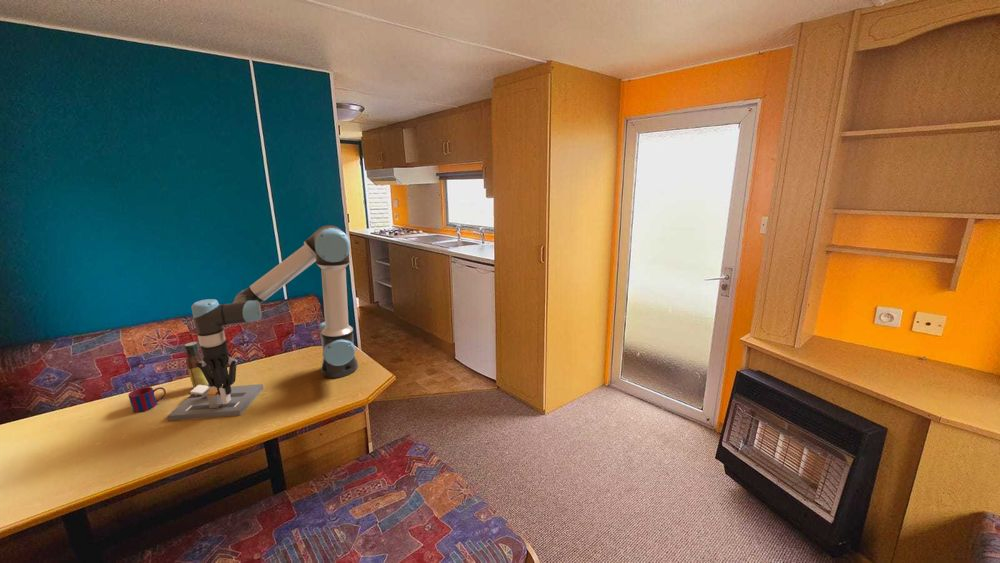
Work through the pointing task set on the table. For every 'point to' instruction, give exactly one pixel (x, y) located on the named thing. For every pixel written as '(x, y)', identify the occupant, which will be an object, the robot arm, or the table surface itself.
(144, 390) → the mug
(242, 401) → the panel
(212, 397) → the block
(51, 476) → the table surface
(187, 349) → the sauce bottle
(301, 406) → the table surface
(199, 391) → the block
